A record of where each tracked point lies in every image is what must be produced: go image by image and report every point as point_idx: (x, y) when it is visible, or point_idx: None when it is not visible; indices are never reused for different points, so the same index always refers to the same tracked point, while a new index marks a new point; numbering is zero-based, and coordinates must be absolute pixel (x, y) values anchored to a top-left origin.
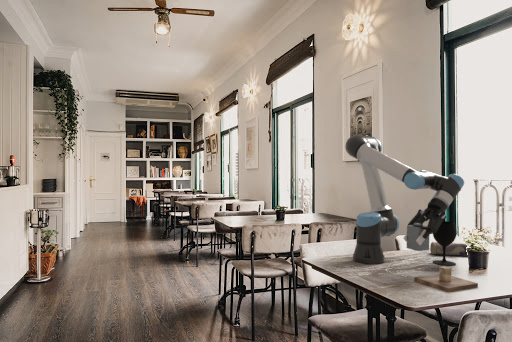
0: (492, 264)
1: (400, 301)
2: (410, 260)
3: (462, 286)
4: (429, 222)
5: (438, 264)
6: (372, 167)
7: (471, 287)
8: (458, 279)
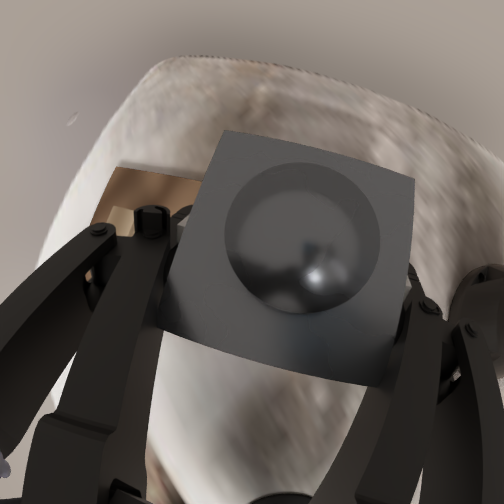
0: None
1: (185, 61)
2: None
3: (93, 220)
4: (121, 323)
5: (289, 494)
6: None
7: None
8: None
